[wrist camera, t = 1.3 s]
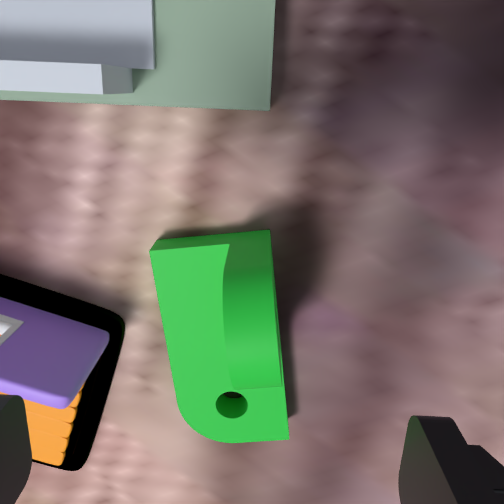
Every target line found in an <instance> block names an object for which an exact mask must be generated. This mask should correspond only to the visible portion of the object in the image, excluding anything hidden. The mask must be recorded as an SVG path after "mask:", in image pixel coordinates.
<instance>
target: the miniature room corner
mask: <svg viewBox="0 0 504 504" xmlns="http://www.w3.org/2000/svg"><path fill="white" fill-rule="evenodd" d="M124 331H125V324H124V321H123V319H122V318H121V317H120V316H119V315H117V314H116V313H114V312H112V311H110V310H107V309H105V308H102V307H99V306H96V305H94V304H91V303H88V302H85V301H82V300H79V299H76V298H73V297H70V296H67V295H64V294H61V293H58V292H55V291H52V290H49V289H46V288H42V287H39V286H36V285H33V284H30V283H27V282H24V281H21V280H18V279H15V278H11V277H8V276H5V275H2V274H0V394H5V395H19V396H21V397H22V398H23V400H24V404H25V409H26V416H27V423H28V430H29V437H30V443H31V450H32V462H36V463H40V464H43V465H47V466H51V467H54V468H58V469H63V470H68V471H76V470H79V469H80V468H82V466H83V465H84V464H85V462H86V460H87V458H88V455H89V453H90V450H91V447H92V444H93V441H94V438H95V434H96V431H97V428H98V425H99V421H100V418H101V415H102V412H103V408H104V405H105V402H106V398H107V395H108V391H109V388H110V385H111V381H112V378H113V374H114V371H115V367H116V363H117V360H118V356H119V352H120V349H121V345H122V341H123V337H124Z"/></svg>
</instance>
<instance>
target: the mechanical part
mask: <svg viewBox="0 0 504 504" xmlns="http://www.w3.org/2000/svg"><path fill="white" fill-rule="evenodd" d="M149 253H150V258H151V264H152V269H153V274H154V280H155V285H156V290H157V296H158V301H159V306H160V312H161V317H162V323H163V328H164V333H165V339H166V344H167V349H168V355H169V360H170V366H171V371H172V376H173V382H174V387H175V392H176V398H177V403H178V407H179V410H180V412H181V414H182V416H183V418H184V419H185V421H186V422H187V423H188V424H189V425H190V426H191V427H192V428H193V429H194V430H195V431H196V432H198V433H200V434H201V435H203V436H205V437H207V438H209V439H212V440H215V441H219V442H225V443H242V442H257V441H273V440H288V439H289V429H288V415H287V405H286V394H285V384H284V373H283V362H282V352H281V341H280V331H279V320H278V310H277V299H276V288H275V278H274V267H273V257H272V246H271V235H270V230H259V231H248V232H237V233H226V234H215V235H204V236H193V237H182V238H171V239H160V240H157V241H156V242H155V243H154V245H153V246H152V248H151V249H150V251H149ZM225 392H237V393H240V394H241V395H243V396H242V397H240V398H229V397H226V396H225V395H223V393H225Z"/></svg>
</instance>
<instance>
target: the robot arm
mask: <svg viewBox="0 0 504 504" xmlns="http://www.w3.org/2000/svg"><path fill="white" fill-rule="evenodd" d="M31 465H32V450H31V443H30V437H29V430H28V423H27V416H26V409H25V404H24V400H23V398H22V397H21V396H19V395H5V394H0V504H15V502H16V500H17V499H18V497H19V495H20V494H21V492H22V490H23V489H24V487H25V485H26V483H27V480H28V477H29V474H30V470H31ZM399 496H400V502H401V504H504V466H503V465H502V464H500V463H499V462H498V461H497V460H496V459H495V458H494V457H492V456H491V455H490V454H489V453H488V452H487V451H486V450H485V449H483V448H482V447H481V446H480V445H468V444H467V443H466V441H465V439H464V437H463V436H462V434H461V432H460V430H459V429H458V427H457V425H456V423H455V422H454V420H453V419H452V418H450V417H435V416H414V415H413V416H411V418H410V420H409V423H408V427H407V433H406V438H405V444H404V449H403V455H402V460H401V465H400V471H399Z"/></svg>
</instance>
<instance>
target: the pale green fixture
mask: <svg viewBox="0 0 504 504" xmlns="http://www.w3.org/2000/svg"><path fill="white" fill-rule="evenodd" d="M274 17H275V0H0V100H23V101H47V102H71V103H95V104H118V105H142V106H166V107H190V108H214V109H238V110H262V111H270V98H271V78H272V57H273V37H274Z"/></svg>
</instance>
